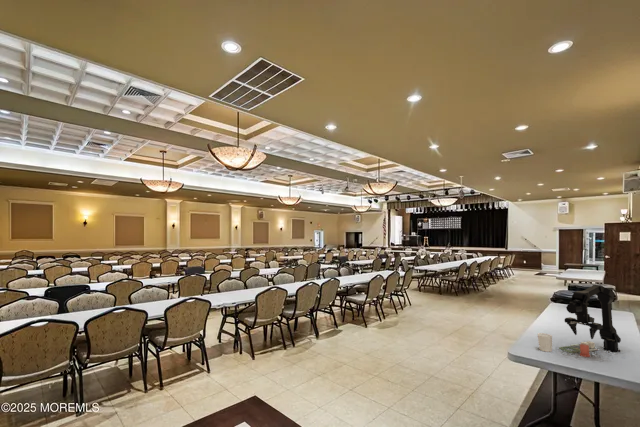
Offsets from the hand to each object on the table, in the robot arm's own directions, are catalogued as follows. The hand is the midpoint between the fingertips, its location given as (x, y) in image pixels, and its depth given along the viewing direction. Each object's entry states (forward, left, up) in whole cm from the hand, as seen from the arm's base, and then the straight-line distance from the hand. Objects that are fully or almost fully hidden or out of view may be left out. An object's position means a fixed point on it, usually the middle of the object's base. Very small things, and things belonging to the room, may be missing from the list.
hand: (583, 336), depth 200 cm
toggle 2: (+7, -14, -10) cm, 19 cm away
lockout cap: (0, 0, -12) cm, 12 cm away
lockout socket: (+10, -1, -12) cm, 15 cm away
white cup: (+14, +15, -12) cm, 24 cm away
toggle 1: (+7, -10, -10) cm, 15 cm away
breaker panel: (+9, -12, -12) cm, 19 cm away
